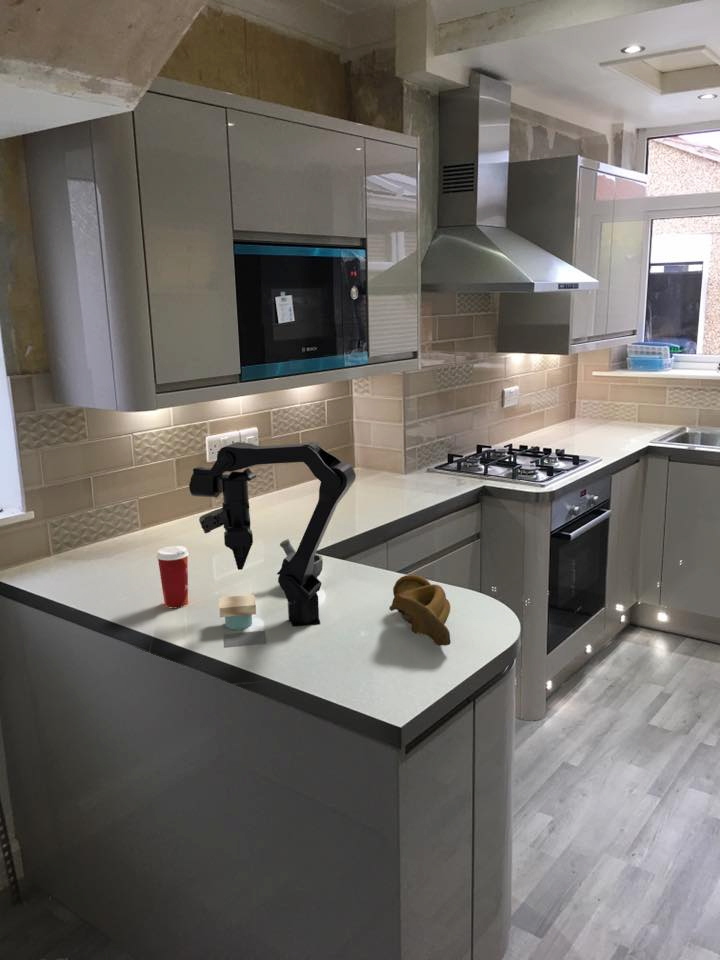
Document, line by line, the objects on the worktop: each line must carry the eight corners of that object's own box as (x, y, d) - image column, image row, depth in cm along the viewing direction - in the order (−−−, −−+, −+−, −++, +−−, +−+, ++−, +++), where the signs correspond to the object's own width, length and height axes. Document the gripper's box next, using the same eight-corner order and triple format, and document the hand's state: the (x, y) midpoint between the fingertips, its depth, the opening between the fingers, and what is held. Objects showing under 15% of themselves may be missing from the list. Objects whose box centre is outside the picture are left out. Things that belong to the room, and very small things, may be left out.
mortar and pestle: (327, 578, 209) (325, 535, 206) (319, 591, 200) (317, 546, 197) (286, 576, 211) (284, 534, 208) (276, 589, 202) (274, 544, 199)
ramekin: (251, 620, 182) (250, 603, 182) (252, 630, 177) (251, 613, 176) (225, 622, 181) (224, 606, 181) (225, 632, 176) (224, 616, 175)
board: (254, 603, 182) (254, 594, 181) (256, 614, 176) (255, 605, 175) (219, 606, 180) (219, 597, 180) (220, 617, 174) (219, 608, 174)
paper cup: (198, 603, 193) (194, 549, 190) (172, 612, 188) (168, 557, 185) (179, 595, 198) (175, 543, 195) (153, 604, 193) (149, 550, 190)
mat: (264, 632, 175) (264, 630, 175) (266, 645, 169) (266, 643, 168) (224, 635, 174) (223, 634, 174) (224, 649, 167) (224, 647, 167)
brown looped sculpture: (354, 614, 165) (384, 565, 185) (376, 665, 169) (403, 612, 188) (434, 598, 158) (457, 549, 177) (456, 652, 161) (475, 598, 180)
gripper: (201, 491, 186) (205, 553, 190) (199, 510, 168) (203, 579, 172) (248, 488, 188) (251, 550, 192) (251, 507, 170) (254, 575, 174)
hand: (239, 563), depth 182 cm, fingers open, 9 cm apart
